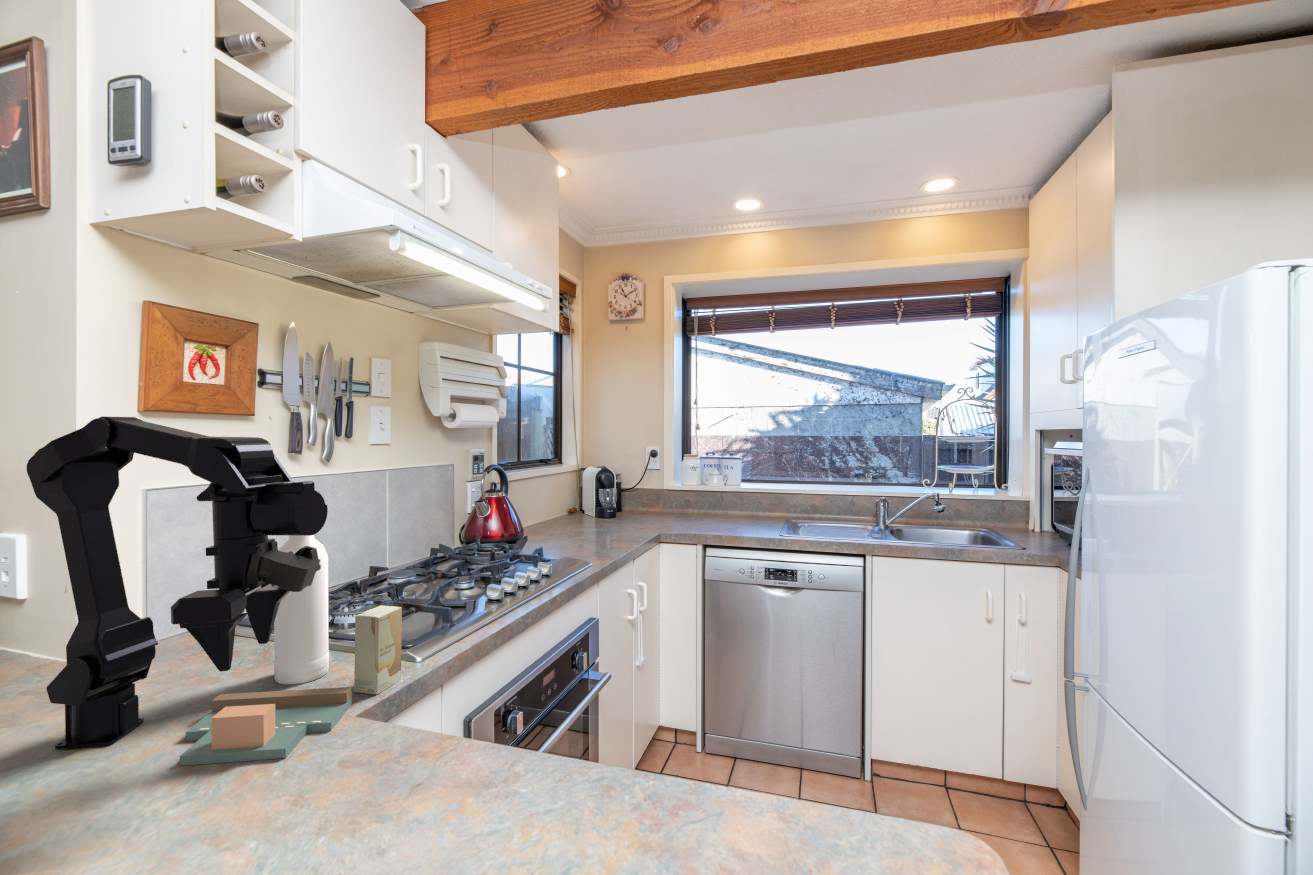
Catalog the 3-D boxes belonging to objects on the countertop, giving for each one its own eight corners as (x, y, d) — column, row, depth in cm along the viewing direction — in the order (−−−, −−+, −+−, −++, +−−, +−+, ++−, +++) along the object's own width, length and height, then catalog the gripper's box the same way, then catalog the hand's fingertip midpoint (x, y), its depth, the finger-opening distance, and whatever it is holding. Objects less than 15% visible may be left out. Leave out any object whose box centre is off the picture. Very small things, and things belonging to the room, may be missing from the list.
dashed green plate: (185, 740, 78) (185, 720, 77) (221, 711, 85) (220, 693, 85) (331, 731, 80) (331, 711, 80) (352, 703, 88) (352, 686, 88)
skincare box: (377, 695, 91) (377, 618, 91) (353, 693, 92) (352, 615, 91) (403, 678, 97) (403, 605, 97) (380, 676, 98) (380, 603, 98)
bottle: (270, 689, 93) (270, 501, 92) (276, 670, 100) (275, 495, 99) (328, 679, 97) (327, 498, 96) (330, 662, 104) (329, 493, 103)
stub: (179, 765, 72) (179, 723, 72) (209, 739, 78) (209, 700, 78) (285, 757, 74) (285, 717, 73) (306, 733, 80) (306, 695, 79)
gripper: (273, 545, 67) (278, 680, 67) (336, 521, 85) (340, 627, 86) (165, 551, 65) (170, 690, 65) (253, 525, 84) (257, 633, 84)
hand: (245, 656), depth 75 cm, fingers open, 9 cm apart
